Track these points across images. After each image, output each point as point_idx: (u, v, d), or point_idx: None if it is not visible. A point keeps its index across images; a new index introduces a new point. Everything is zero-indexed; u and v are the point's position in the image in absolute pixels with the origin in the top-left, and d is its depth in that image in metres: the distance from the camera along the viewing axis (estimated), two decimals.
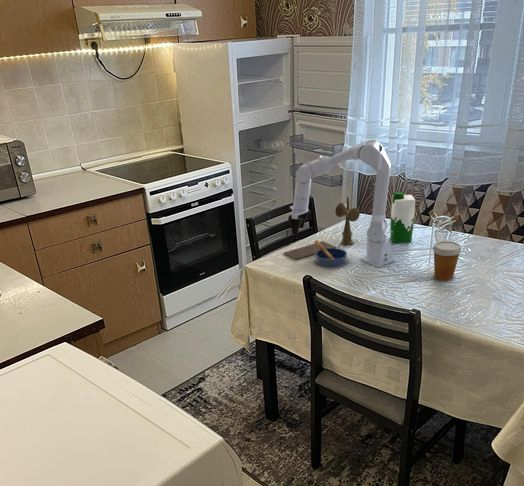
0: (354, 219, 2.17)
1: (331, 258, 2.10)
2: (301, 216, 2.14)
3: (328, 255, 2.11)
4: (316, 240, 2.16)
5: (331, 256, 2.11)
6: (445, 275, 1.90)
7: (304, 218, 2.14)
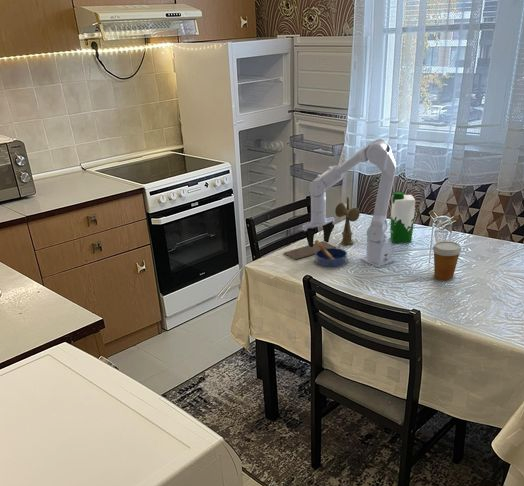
0: (354, 219, 2.17)
1: (331, 258, 2.10)
2: (325, 230, 2.14)
3: (328, 255, 2.11)
4: (316, 240, 2.16)
5: (331, 256, 2.11)
6: (445, 275, 1.90)
7: (328, 232, 2.14)
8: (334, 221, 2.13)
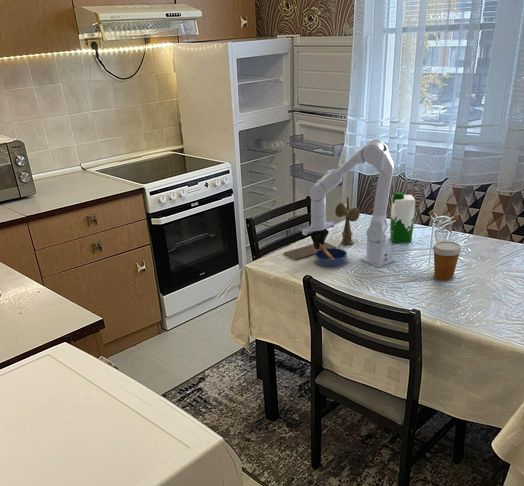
0: (354, 219, 2.17)
1: (331, 258, 2.10)
2: (320, 236, 2.14)
3: (328, 255, 2.11)
4: None
5: (331, 256, 2.11)
6: (445, 275, 1.90)
7: (322, 238, 2.13)
8: (334, 225, 2.14)
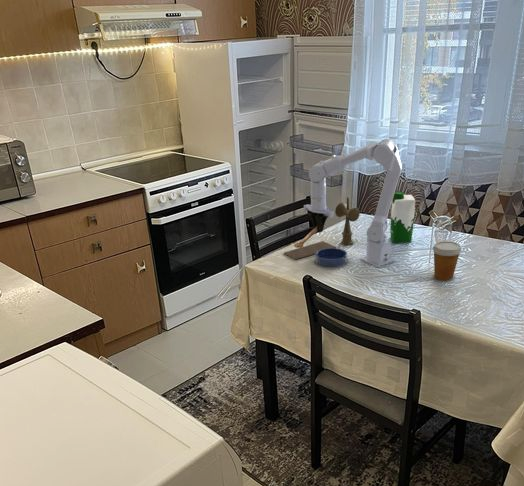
0: (354, 219, 2.17)
1: (300, 241, 2.09)
2: None
3: (303, 238, 2.09)
4: None
5: (303, 240, 2.09)
6: (445, 275, 1.90)
7: None
8: (329, 215, 2.03)
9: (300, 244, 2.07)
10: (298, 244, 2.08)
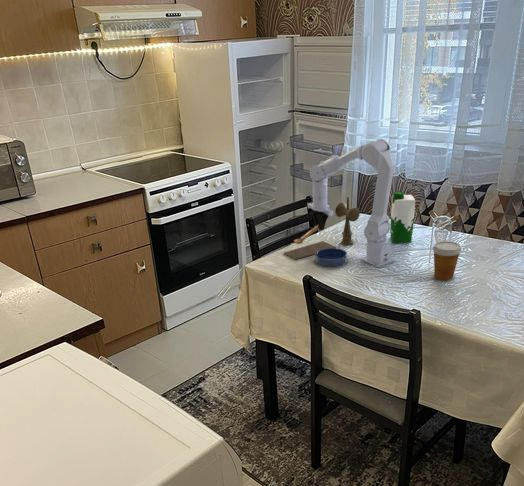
0: (354, 219, 2.17)
1: (301, 237, 2.17)
2: None
3: None
4: None
5: (304, 236, 2.17)
6: (445, 275, 1.90)
7: None
8: (328, 214, 2.10)
9: (300, 240, 2.16)
10: (298, 240, 2.16)
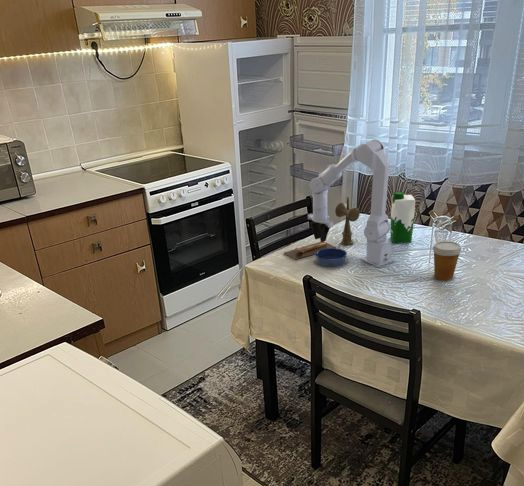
0: (354, 219, 2.17)
1: (302, 248, 2.20)
2: None
3: (306, 247, 2.21)
4: None
5: (305, 248, 2.20)
6: (445, 275, 1.90)
7: None
8: (328, 226, 2.13)
9: (301, 249, 2.18)
10: (299, 249, 2.18)
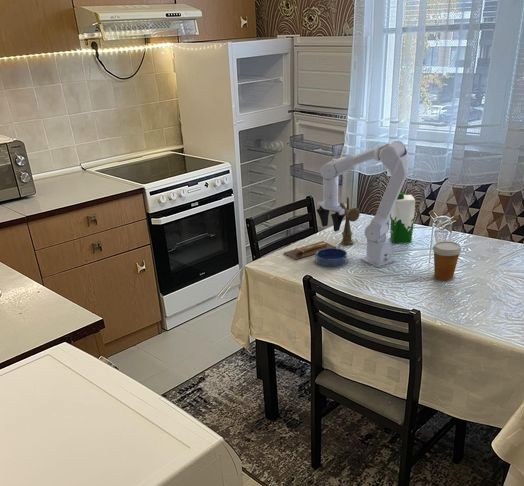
0: (354, 219, 2.17)
1: (302, 248, 2.20)
2: None
3: (306, 247, 2.21)
4: None
5: (305, 248, 2.20)
6: (445, 275, 1.90)
7: None
8: (340, 213, 2.05)
9: (301, 249, 2.18)
10: (299, 249, 2.18)
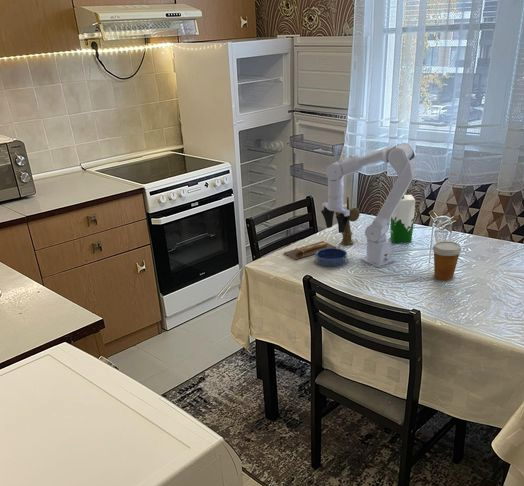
0: (354, 219, 2.17)
1: (302, 248, 2.20)
2: None
3: (306, 247, 2.21)
4: None
5: (305, 248, 2.20)
6: (445, 275, 1.90)
7: None
8: (345, 214, 2.03)
9: (301, 249, 2.18)
10: (299, 249, 2.18)
